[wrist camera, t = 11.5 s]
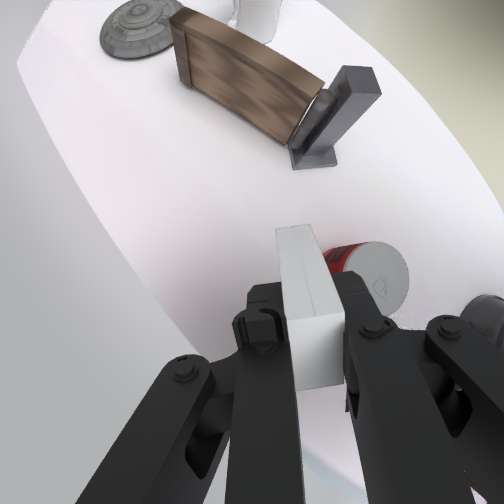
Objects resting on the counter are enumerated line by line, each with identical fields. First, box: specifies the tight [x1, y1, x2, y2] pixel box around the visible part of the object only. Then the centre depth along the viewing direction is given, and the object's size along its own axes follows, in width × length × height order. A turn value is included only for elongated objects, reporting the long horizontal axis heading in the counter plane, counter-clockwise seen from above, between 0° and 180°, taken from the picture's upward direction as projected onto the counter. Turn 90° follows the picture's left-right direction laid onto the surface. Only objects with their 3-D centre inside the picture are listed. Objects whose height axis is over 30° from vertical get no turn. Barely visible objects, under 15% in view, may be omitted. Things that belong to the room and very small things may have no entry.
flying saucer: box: [100, 0, 184, 58], centre depth 37 cm, size 15×15×6 cm
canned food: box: [323, 242, 409, 316], centre depth 35 cm, size 8×8×11 cm
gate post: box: [288, 65, 382, 170], centre depth 32 cm, size 6×6×18 cm
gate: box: [169, 6, 333, 150], centre depth 32 cm, size 19×2×13 cm, turn 54°
